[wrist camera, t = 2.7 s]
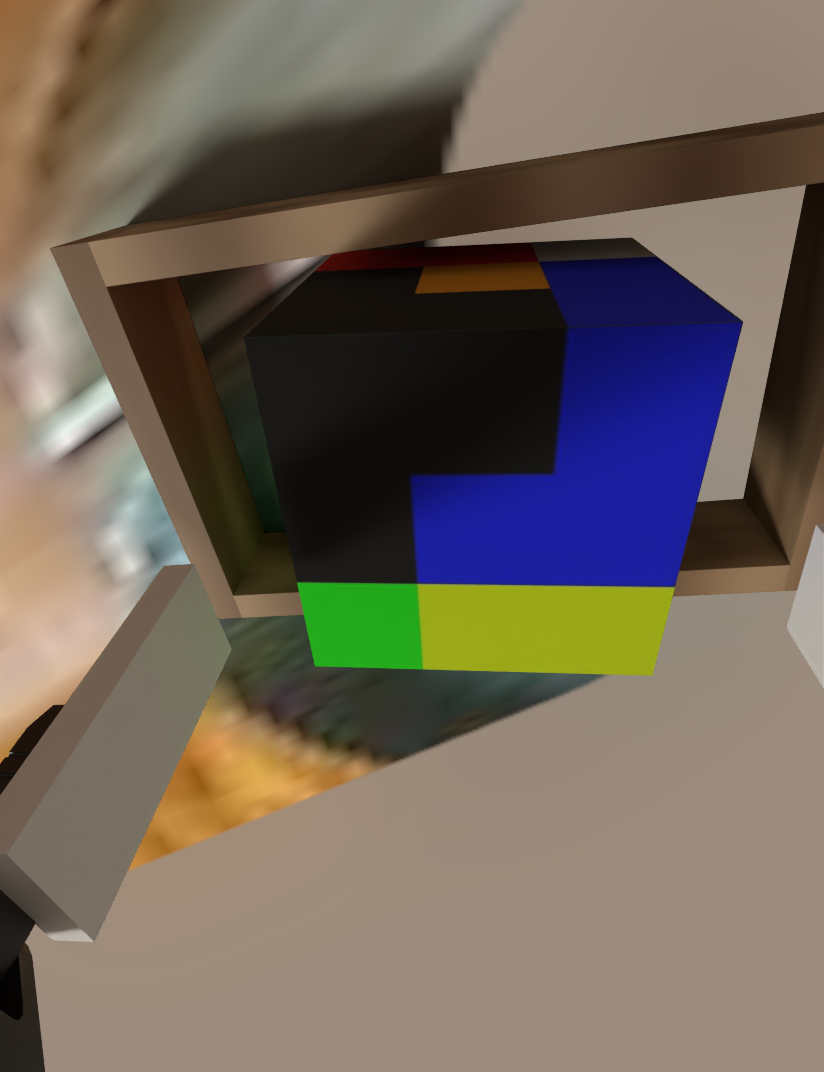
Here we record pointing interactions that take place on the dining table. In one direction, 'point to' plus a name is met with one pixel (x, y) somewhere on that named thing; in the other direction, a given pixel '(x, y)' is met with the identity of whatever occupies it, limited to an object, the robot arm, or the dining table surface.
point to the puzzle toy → (491, 451)
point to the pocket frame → (430, 213)
